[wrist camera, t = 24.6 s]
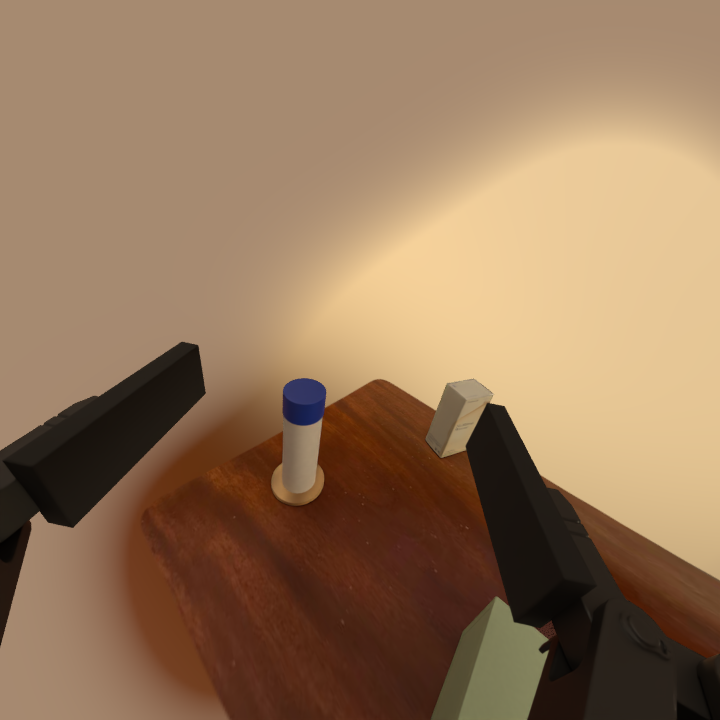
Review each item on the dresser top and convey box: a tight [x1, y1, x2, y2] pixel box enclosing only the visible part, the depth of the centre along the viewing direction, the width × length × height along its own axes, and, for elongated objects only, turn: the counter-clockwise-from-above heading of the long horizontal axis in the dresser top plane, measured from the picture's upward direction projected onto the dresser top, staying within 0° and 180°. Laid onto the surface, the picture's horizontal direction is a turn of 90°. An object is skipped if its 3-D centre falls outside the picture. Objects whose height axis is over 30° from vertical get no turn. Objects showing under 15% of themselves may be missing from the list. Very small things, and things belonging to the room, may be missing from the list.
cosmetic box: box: [425, 379, 494, 458], centre depth 45 cm, size 6×4×12 cm
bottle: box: [282, 378, 326, 493], centre depth 34 cm, size 5×5×15 cm
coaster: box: [271, 464, 324, 506], centre depth 38 cm, size 7×7×1 cm
